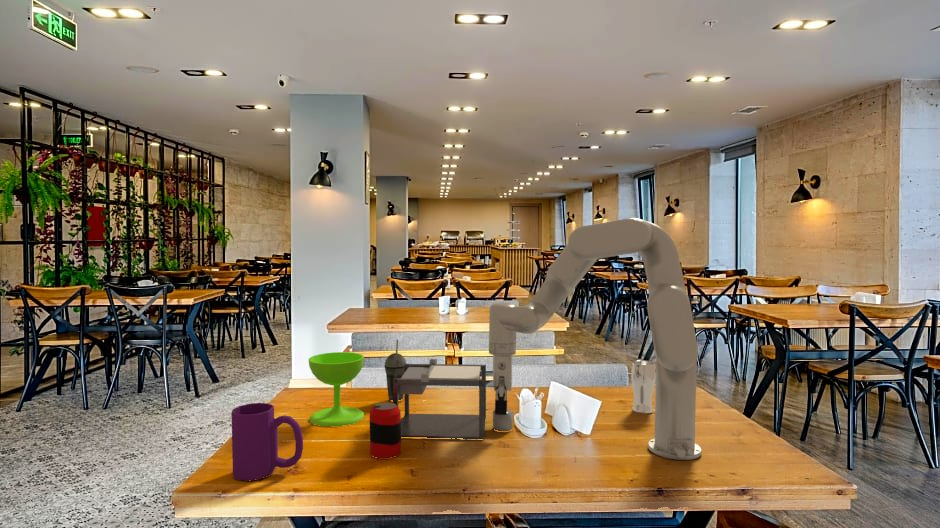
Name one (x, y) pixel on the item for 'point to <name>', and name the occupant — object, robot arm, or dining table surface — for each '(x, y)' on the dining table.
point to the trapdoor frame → (442, 423)
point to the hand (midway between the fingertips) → (500, 408)
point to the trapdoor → (437, 375)
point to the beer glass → (643, 385)
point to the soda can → (385, 430)
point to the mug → (259, 441)
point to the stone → (503, 421)
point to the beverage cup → (394, 371)
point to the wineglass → (336, 385)
